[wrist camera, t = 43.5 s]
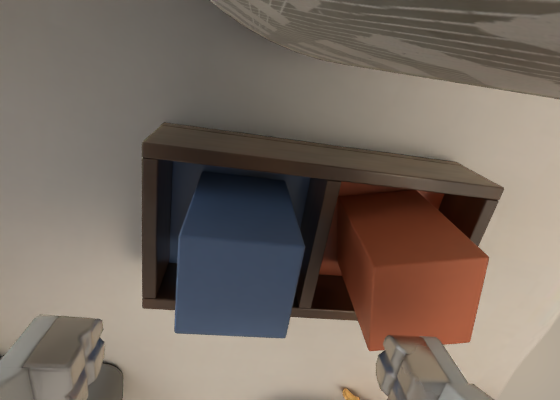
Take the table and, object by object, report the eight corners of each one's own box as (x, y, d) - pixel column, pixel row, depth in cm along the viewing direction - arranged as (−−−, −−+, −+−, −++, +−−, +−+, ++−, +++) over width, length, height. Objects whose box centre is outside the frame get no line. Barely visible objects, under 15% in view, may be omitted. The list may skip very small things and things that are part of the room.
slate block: (273, 250, 18) (285, 339, 12) (196, 244, 17) (173, 334, 12) (286, 180, 16) (306, 246, 11) (201, 170, 16) (178, 235, 10)
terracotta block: (409, 256, 19) (470, 343, 13) (337, 262, 19) (368, 352, 13) (416, 189, 17) (490, 257, 11) (337, 195, 17) (373, 266, 11)
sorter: (457, 162, 18) (505, 187, 14) (411, 281, 21) (442, 326, 17) (163, 122, 15) (140, 141, 12) (160, 262, 18) (141, 308, 15)
